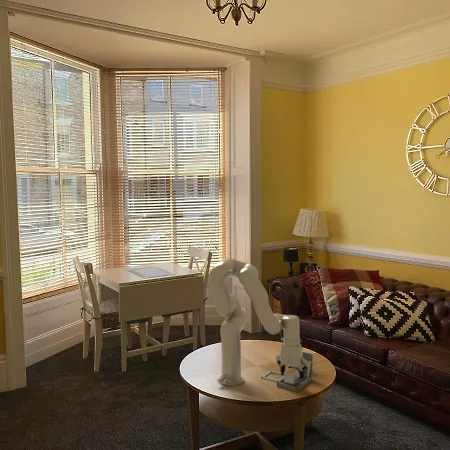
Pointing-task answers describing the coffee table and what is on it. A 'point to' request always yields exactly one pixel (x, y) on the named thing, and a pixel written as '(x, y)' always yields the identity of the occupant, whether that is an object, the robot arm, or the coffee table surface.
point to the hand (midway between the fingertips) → (292, 376)
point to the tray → (270, 378)
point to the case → (302, 381)
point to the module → (291, 377)
